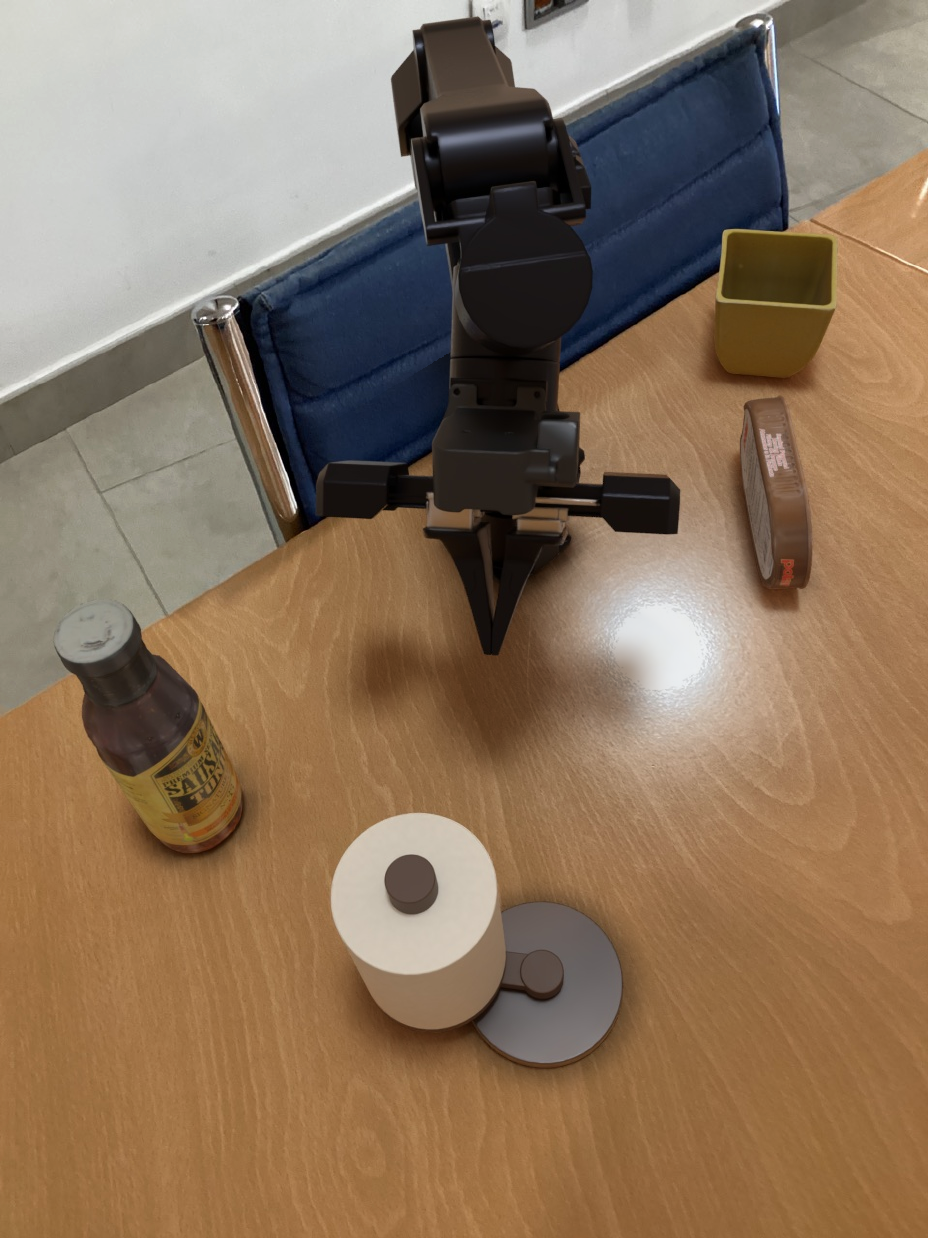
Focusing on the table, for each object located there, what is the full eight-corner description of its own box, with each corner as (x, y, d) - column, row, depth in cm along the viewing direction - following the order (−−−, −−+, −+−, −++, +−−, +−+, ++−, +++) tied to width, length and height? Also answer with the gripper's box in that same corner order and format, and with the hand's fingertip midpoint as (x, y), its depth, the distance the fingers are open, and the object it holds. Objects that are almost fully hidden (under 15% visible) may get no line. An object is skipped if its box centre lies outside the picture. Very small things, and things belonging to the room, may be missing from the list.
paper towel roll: (338, 959, 60) (290, 874, 50) (457, 856, 63) (436, 755, 53) (449, 1096, 56) (424, 1035, 45) (572, 978, 59) (575, 895, 48)
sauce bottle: (222, 869, 65) (111, 708, 49) (134, 842, 67) (-2, 677, 51) (266, 777, 69) (175, 598, 53) (181, 753, 70) (68, 572, 54)
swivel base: (431, 979, 61) (429, 974, 60) (544, 876, 64) (544, 870, 63) (539, 1105, 57) (539, 1101, 56) (656, 989, 60) (657, 984, 59)
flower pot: (813, 399, 85) (837, 307, 77) (702, 389, 86) (715, 299, 79) (815, 326, 89) (838, 233, 82) (709, 318, 91) (723, 227, 84)
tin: (802, 612, 73) (828, 535, 66) (756, 614, 73) (776, 537, 66) (769, 453, 82) (789, 369, 75) (728, 454, 82) (744, 372, 75)
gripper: (284, 344, 49) (281, 676, 51) (698, 357, 46) (672, 704, 49) (345, 359, 59) (340, 632, 62) (683, 370, 57) (662, 654, 60)
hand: (492, 654), depth 58 cm, fingers closed
